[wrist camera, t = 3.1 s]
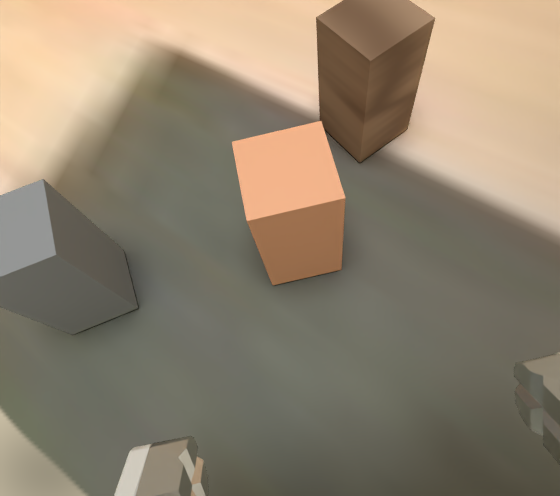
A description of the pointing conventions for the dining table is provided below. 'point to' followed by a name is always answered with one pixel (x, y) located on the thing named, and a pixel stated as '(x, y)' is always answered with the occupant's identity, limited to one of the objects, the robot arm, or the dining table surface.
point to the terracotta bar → (292, 201)
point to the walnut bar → (370, 70)
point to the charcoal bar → (59, 262)
